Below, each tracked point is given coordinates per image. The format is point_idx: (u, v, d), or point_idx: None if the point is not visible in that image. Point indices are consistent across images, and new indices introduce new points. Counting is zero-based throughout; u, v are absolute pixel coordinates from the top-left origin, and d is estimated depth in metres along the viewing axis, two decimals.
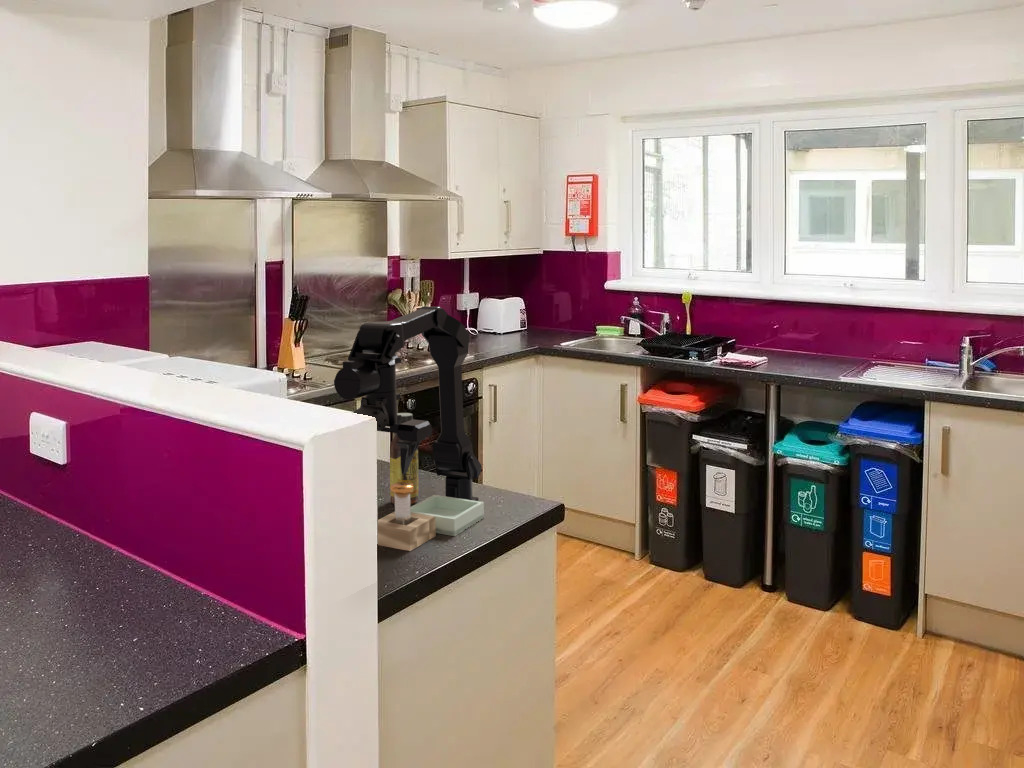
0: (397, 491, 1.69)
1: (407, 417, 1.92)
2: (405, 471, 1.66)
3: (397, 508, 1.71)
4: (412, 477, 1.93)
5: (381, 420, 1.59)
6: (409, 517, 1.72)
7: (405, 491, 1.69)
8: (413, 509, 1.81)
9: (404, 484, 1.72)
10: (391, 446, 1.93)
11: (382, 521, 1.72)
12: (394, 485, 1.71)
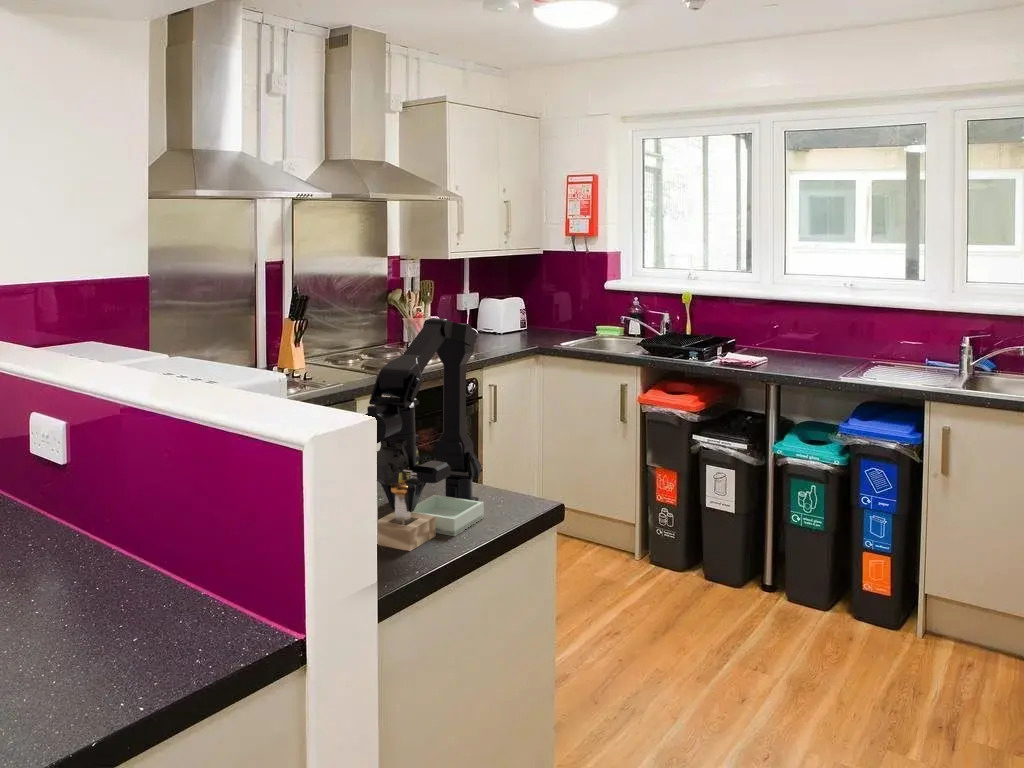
0: (397, 491, 1.69)
1: None
2: (412, 509, 1.71)
3: (397, 508, 1.71)
4: None
5: (401, 463, 1.63)
6: (409, 517, 1.72)
7: (405, 491, 1.69)
8: None
9: (404, 484, 1.72)
10: None
11: (382, 521, 1.72)
12: (394, 485, 1.71)
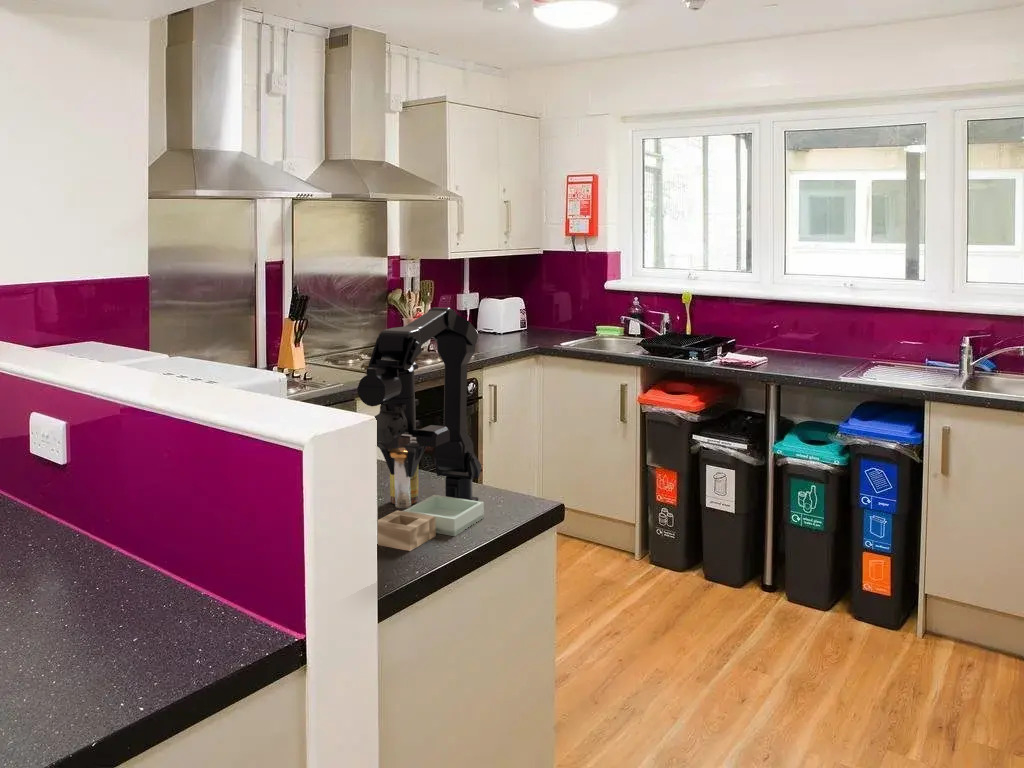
0: (396, 456, 1.68)
1: None
2: (412, 474, 1.70)
3: (396, 473, 1.69)
4: (412, 477, 1.93)
5: (401, 426, 1.61)
6: (408, 482, 1.70)
7: (404, 456, 1.68)
8: (413, 509, 1.81)
9: (403, 449, 1.71)
10: None
11: (382, 521, 1.72)
12: (393, 450, 1.70)
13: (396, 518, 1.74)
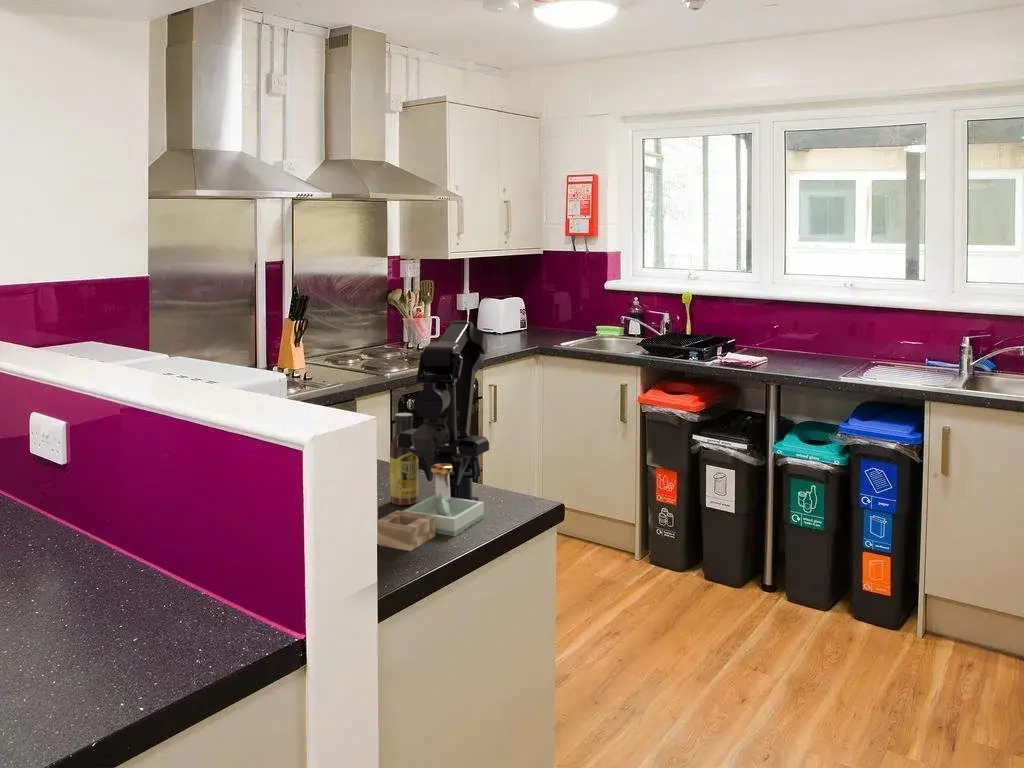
0: (437, 471, 1.79)
1: (407, 417, 1.92)
2: (458, 482, 1.79)
3: (437, 487, 1.80)
4: (412, 477, 1.93)
5: (444, 436, 1.72)
6: (449, 496, 1.81)
7: (445, 471, 1.79)
8: (413, 509, 1.81)
9: (443, 465, 1.81)
10: (391, 446, 1.93)
11: (382, 521, 1.72)
12: (434, 466, 1.81)
13: (396, 518, 1.74)
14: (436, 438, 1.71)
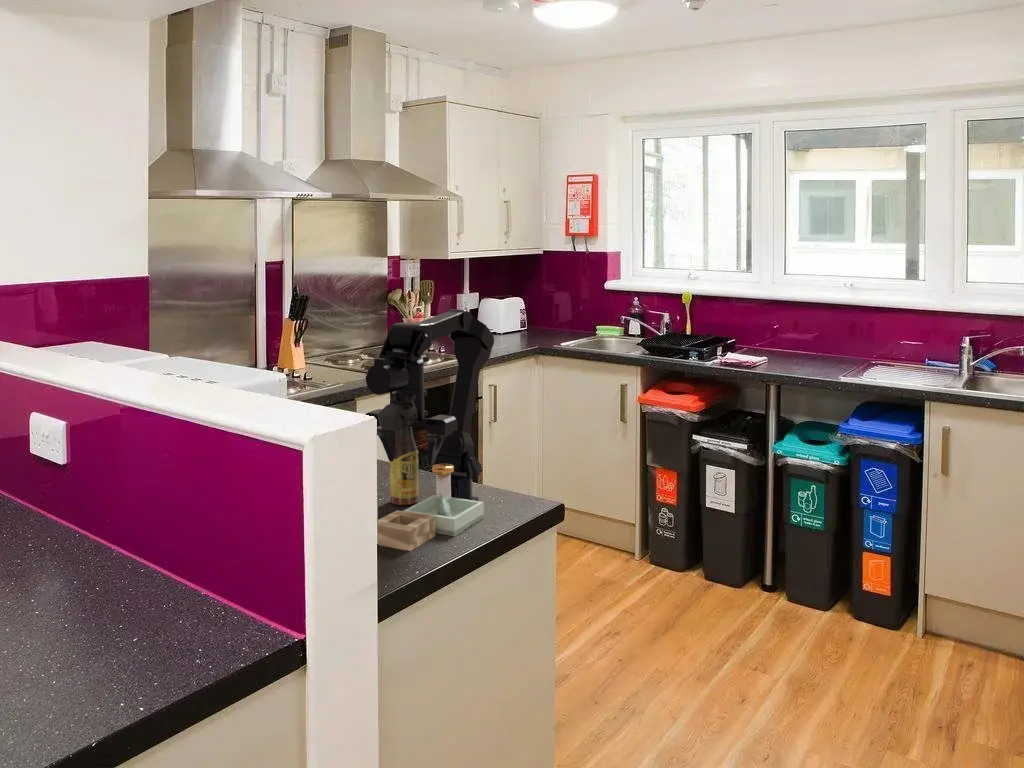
0: (439, 471, 1.79)
1: None
2: (432, 464, 1.76)
3: (438, 487, 1.80)
4: (412, 477, 1.93)
5: (412, 414, 1.69)
6: (450, 496, 1.81)
7: (446, 471, 1.79)
8: (413, 509, 1.81)
9: (444, 465, 1.81)
10: None
11: (382, 521, 1.72)
12: (435, 466, 1.81)
13: (396, 518, 1.74)
14: (403, 416, 1.68)
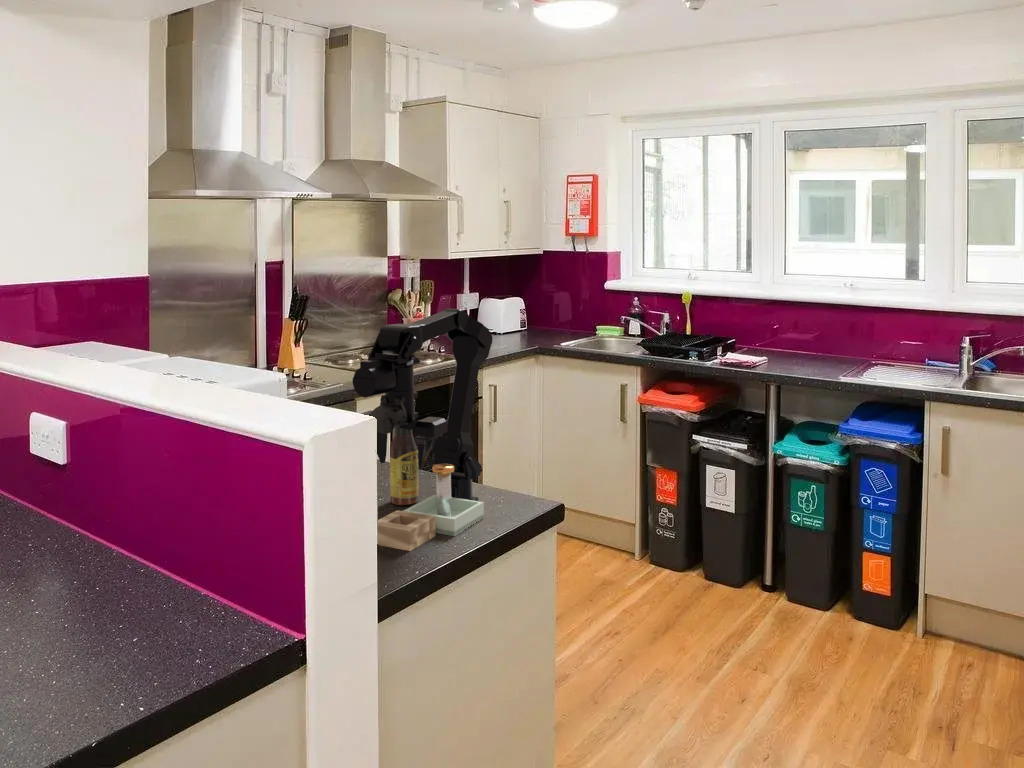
0: (439, 471, 1.79)
1: None
2: (422, 466, 1.75)
3: (439, 487, 1.80)
4: (412, 477, 1.93)
5: (400, 417, 1.68)
6: (450, 496, 1.81)
7: (446, 471, 1.79)
8: (413, 509, 1.81)
9: (445, 465, 1.81)
10: (391, 446, 1.93)
11: (382, 521, 1.72)
12: (436, 466, 1.81)
13: (396, 518, 1.74)
14: (392, 419, 1.68)
